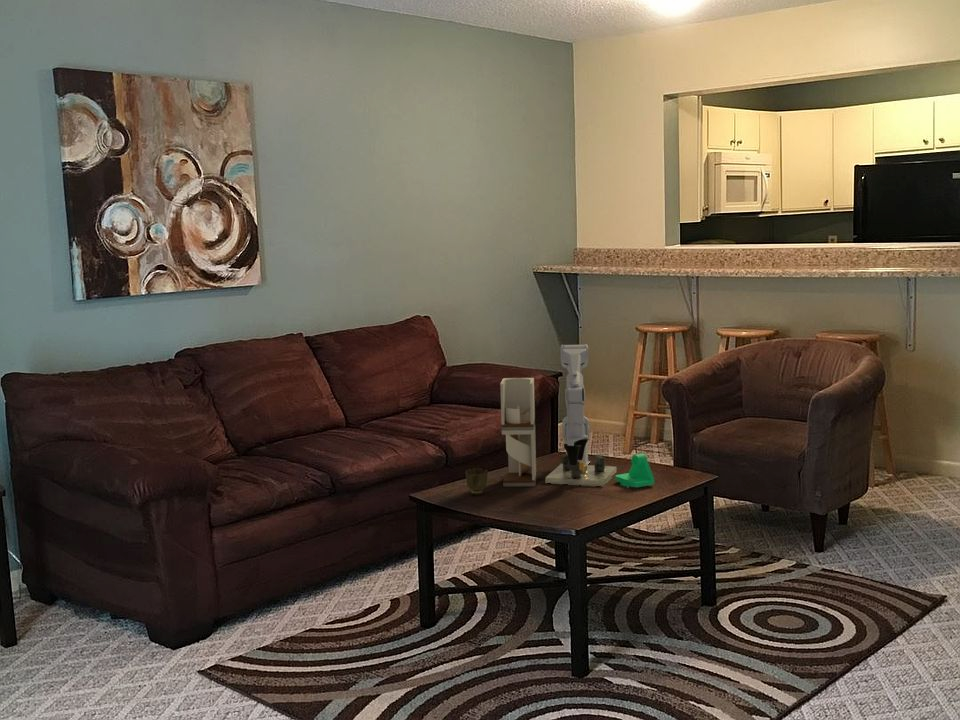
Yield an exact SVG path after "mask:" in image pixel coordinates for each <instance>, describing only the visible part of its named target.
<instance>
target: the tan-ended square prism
mask: <svg viewBox="0 0 960 720" xmlns="http://www.w3.org/2000/svg"><path fill="white" fill-rule="evenodd" d="M568 469H570V470H571V477H573V478H580V477H582V470H584V469H585V462H577V465H570V462H568Z"/></svg>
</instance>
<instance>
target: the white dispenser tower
mask: <svg viewBox="0 0 960 720" xmlns="http://www.w3.org/2000/svg"><path fill="white" fill-rule="evenodd" d="M499 385H500V386H499V387H500V412H501V413H500V417H501V419H500V421H501V422H500V423H501V436H502V435H503V436H504V435H505V446H506V447H505V450H506V453H507V458H508V459H507V460H508V462H507V463H508V471H505V473H504V477H503V481H502V484H503V485H502V487H536V482H537V454H536V453H537V450H536V449H537V448H536V447H537V446H536V444H537V443H536V408H535V407H536V406H535V405H536V404H535V377H504V378H502V380H501V381H500V383H499Z"/></svg>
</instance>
